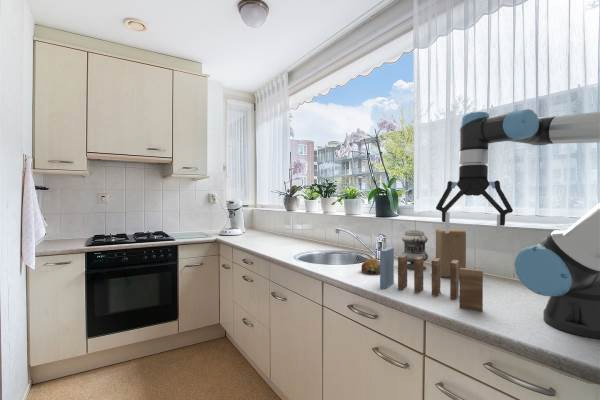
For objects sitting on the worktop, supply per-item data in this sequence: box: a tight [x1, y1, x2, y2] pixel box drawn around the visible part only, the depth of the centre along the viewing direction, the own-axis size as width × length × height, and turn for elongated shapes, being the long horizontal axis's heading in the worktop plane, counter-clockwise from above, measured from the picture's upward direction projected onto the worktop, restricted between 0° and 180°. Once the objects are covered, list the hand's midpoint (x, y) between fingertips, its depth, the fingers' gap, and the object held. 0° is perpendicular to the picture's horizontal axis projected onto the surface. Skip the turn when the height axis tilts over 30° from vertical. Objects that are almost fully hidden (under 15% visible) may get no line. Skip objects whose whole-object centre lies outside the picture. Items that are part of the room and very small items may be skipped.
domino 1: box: [397, 254, 408, 291], centre depth 113 cm, size 2×6×12 cm, turn 145°
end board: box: [379, 246, 395, 290], centre depth 116 cm, size 2×10×14 cm, turn 146°
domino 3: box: [431, 257, 441, 297], centre depth 106 cm, size 2×6×12 cm, turn 145°
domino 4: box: [449, 260, 460, 300], centre depth 103 cm, size 2×6×12 cm, turn 145°
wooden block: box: [435, 228, 467, 279], centre depth 132 cm, size 10×10×20 cm
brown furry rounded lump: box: [361, 258, 380, 276], centre depth 138 cm, size 10×10×8 cm
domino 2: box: [413, 256, 424, 294], centre depth 110 cm, size 2×6×12 cm, turn 146°
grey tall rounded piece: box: [401, 229, 429, 271], centre depth 147 cm, size 12×12×18 cm
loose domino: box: [458, 267, 484, 313], centre depth 92 cm, size 2×6×12 cm, turn 55°
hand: (471, 234), depth 92 cm, fingers open, 13 cm apart
